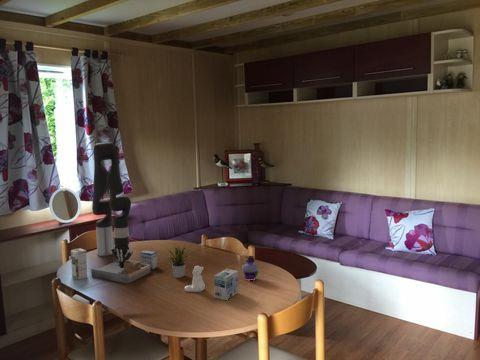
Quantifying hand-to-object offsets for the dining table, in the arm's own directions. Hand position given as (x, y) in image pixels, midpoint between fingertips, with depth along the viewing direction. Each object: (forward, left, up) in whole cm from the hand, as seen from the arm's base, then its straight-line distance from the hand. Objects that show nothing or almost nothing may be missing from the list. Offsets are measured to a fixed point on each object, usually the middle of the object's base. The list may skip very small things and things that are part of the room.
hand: (122, 267), depth 227 cm
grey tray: (0, -1, -4) cm, 4 cm away
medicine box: (-15, +5, -4) cm, 16 cm away
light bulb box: (+1, +62, -4) cm, 62 cm away
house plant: (-11, +29, -4) cm, 31 cm away
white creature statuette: (+1, +46, -4) cm, 46 cm away
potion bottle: (-22, +63, -4) cm, 67 cm away
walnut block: (0, +6, -1) cm, 6 cm away
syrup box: (+13, -17, -4) cm, 22 cm away
